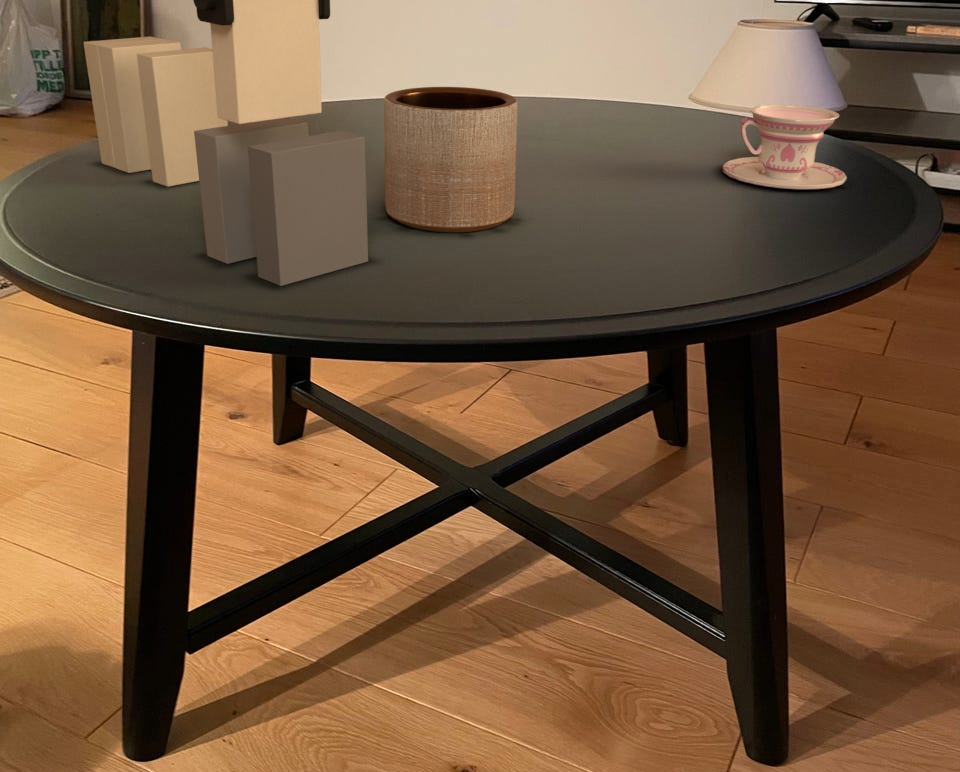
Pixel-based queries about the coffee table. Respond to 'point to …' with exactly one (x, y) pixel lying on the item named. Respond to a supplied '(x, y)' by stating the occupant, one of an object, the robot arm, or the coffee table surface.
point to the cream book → (268, 61)
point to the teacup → (786, 149)
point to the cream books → (151, 105)
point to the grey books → (283, 198)
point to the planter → (450, 158)
